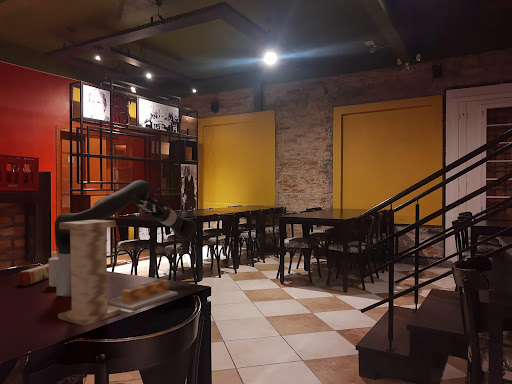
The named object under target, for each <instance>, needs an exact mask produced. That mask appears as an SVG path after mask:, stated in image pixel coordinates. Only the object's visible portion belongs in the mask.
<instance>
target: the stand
mask: <svg viewBox="0 0 512 384" xmlns="http://www.w3.org/2000/svg"><path fill="white" fill-rule="evenodd" d="M115 227H117V221H116V220H107V219H105V220H85V221H74V222H63V223H59V229H69V230H70V247H71V294H72V296H71V309H70V310H67V311H63V312H61V313H58V314H57V315H58V317H57V319H59V320H62V321H65V322H69V323H73V324H75V325H79V326H83V327H85V326H88V325H91V324H94V323H97V322H99V321H102V320H105V319H108V318H112V317H113V316H117V315H120V314H121V313H122V311H121V309H119V307H118V308H114V307H110V306H107V300H108V274H107V273H108V271H107V268H108V267H107V263H108V262H107V228H115Z"/></svg>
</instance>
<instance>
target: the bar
mask: <svg viewBox="0 0 512 384" xmlns="http://www.w3.org/2000/svg"><path fill="white" fill-rule="evenodd" d="M167 290H168V291H169V280H168V279H157V280H154V281H150V282H146V283H143V284H139V285H136V286H132V287H128V288H125V289H122V290H120V291H121V296H122V301H124V302H128V303H129V302H132V301H135V300H138V299H142V298H145V297H148V296H151V295H154V294H157V293H161V292H164V291H167Z"/></svg>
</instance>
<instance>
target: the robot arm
mask: <svg viewBox="0 0 512 384" xmlns="http://www.w3.org/2000/svg"><path fill="white" fill-rule="evenodd" d="M150 191H151V186H150V184H149V182H147V181H145V180H142V179H139V180H135V181H132V182H131V183H129V184H128V185H126V186H125V187H123V188H121V189H119V190H117V191H115V192H113V193H111V194H108V195H106V196H104V197H102V198H100V199H98V200H97V201H96V202H95V203H94V204H93V205H92V207H90V208H89V209H87V210H84V211H81V212H75V213H74V212H73V213H70V212H68V213H67V212H66V213H59V215H58V216H57V217H56V219H55V221H54V239H55V246H56V248H57V257H58V272H56V285H57V287H56V296H58V297H72V294H71V247H70V230H69V229H59V223H63V222H74V221H85V220H107V219H109V218H111V217H113V216H115V215H117V214H118V213H120V212H121V211H123V210H124V209H125V208H126V207H127V205H128V204H129V203H130V202H131V203H132V204H134V205H135V207H137V208H139V209H140V210H142V211H143V212H149V213H151V216H152V218H153V219H155V220H156V221H158V222H159V223H161V224H163V225H165V226H167V227H169V228H170V229H171V230H172V231H173V232H174V234H175V235H176V236H177V238H178V239H180V240H181V241H187V240H188V239H190V237H191V236H192V235H193V234H194V232H195V231H196V229H197V224H196V222H195V221H194V220H192V219H189V218H187V217H184V216H182V215H180V214H179V213H177V212H176V211H175V210H173V209H172V208H170V207H169V206H167V205H166V204H165V203H164V202H162V201H161V200H157V199H154V198H152V197H151V196H149V194H150Z"/></svg>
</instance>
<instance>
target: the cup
mask: <svg viewBox="0 0 512 384" xmlns="http://www.w3.org/2000/svg"><path fill="white" fill-rule="evenodd" d="M48 264H49V278H48V285H49V286H48V287H54V288H55V287H56V288H57V285H56V272H58V256H54V257H50V258H48Z"/></svg>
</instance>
